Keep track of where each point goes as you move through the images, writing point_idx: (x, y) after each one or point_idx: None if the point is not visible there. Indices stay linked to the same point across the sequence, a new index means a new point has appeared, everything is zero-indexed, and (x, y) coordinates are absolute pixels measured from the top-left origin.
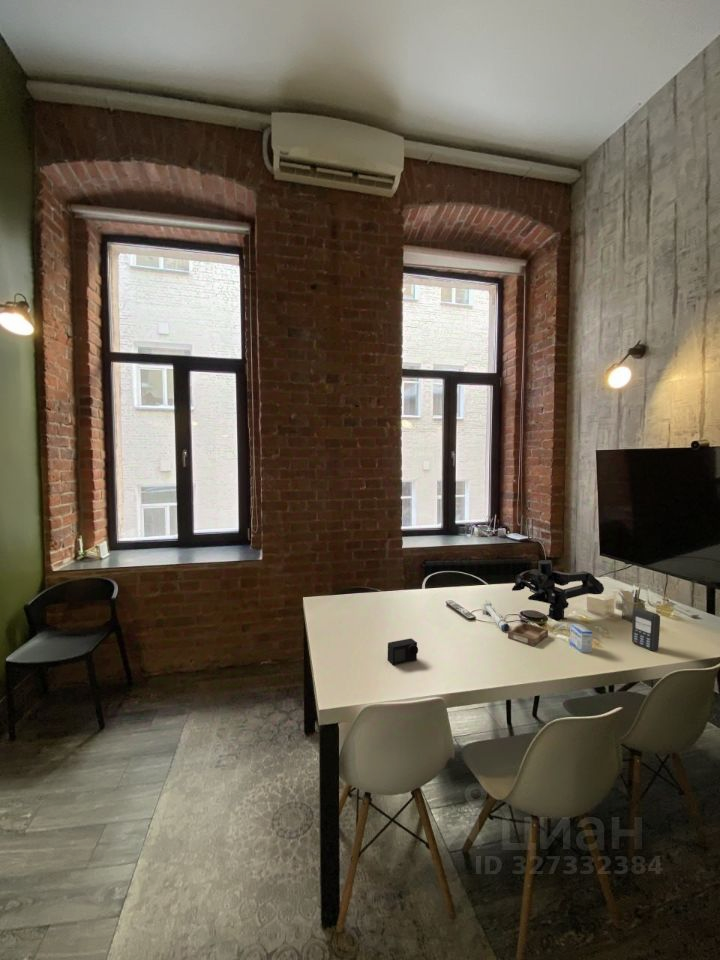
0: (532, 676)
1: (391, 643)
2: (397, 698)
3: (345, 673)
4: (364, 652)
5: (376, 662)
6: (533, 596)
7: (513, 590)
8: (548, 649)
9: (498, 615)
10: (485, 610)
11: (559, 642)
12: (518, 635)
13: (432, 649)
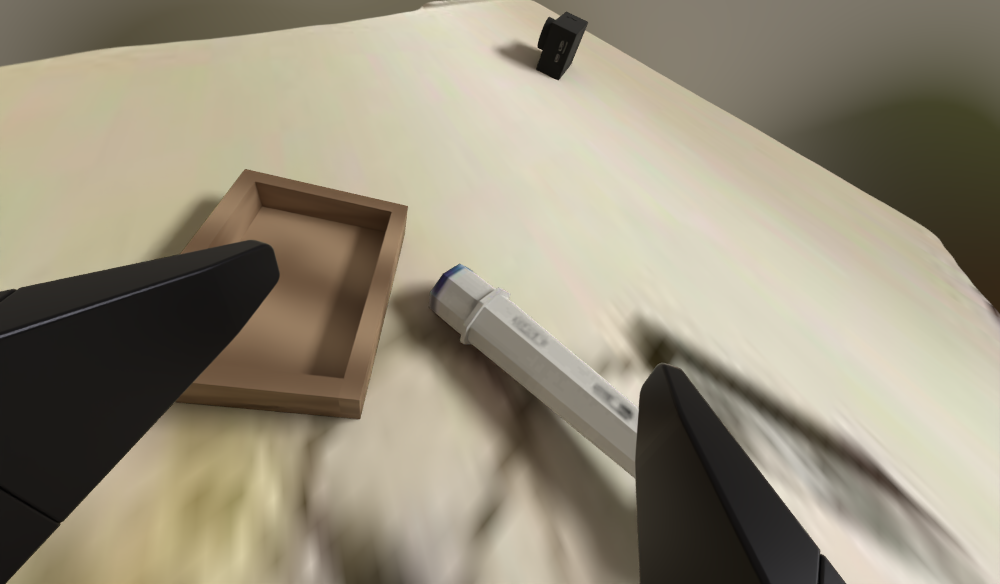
0: (253, 45)
1: (580, 19)
2: (477, 3)
3: None
4: (617, 77)
5: (576, 58)
6: (123, 282)
7: (639, 412)
8: (160, 206)
9: (548, 346)
10: None
11: None
12: (344, 196)
13: (549, 104)
